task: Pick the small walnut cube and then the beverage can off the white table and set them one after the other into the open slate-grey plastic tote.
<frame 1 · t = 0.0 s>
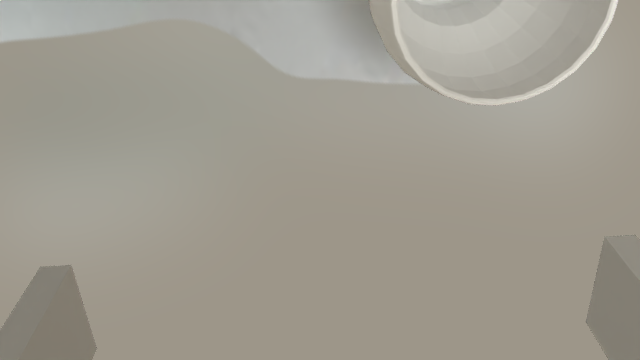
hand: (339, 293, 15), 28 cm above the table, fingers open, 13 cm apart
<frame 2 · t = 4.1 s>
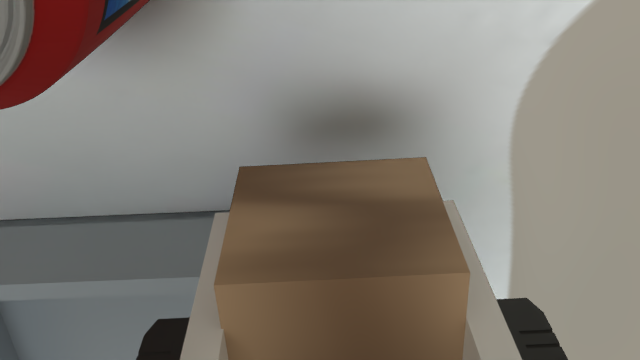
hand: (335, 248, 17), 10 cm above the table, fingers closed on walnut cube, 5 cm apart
walnut cube: (335, 239, 17), point 10 cm above the table, touching gripper
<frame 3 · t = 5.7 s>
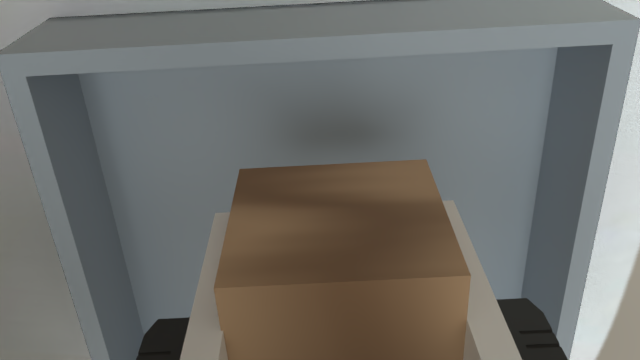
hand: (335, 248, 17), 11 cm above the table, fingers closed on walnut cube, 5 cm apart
walnut cube: (336, 241, 17), point 11 cm above the table, touching gripper
tote: (325, 208, 29), on the table
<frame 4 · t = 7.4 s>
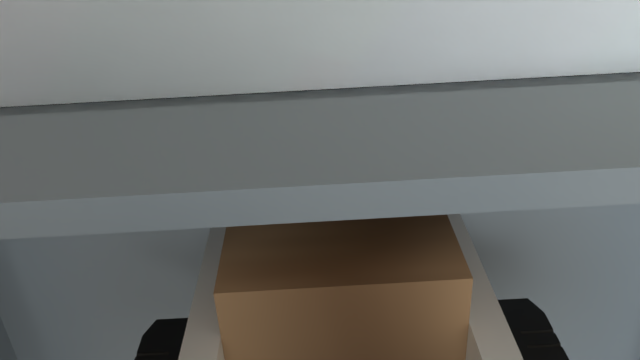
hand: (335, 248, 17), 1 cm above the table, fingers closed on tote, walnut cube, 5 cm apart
walnut cube: (334, 243, 17), point 1 cm above the table, touching gripper, tote
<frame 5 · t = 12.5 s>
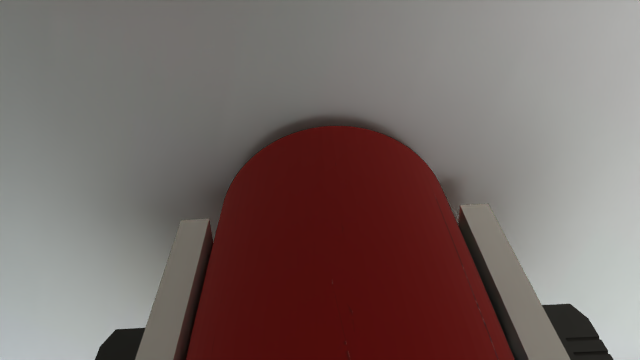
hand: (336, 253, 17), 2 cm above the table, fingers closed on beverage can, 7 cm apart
beverage can: (332, 211, 19), on the table, touching gripper
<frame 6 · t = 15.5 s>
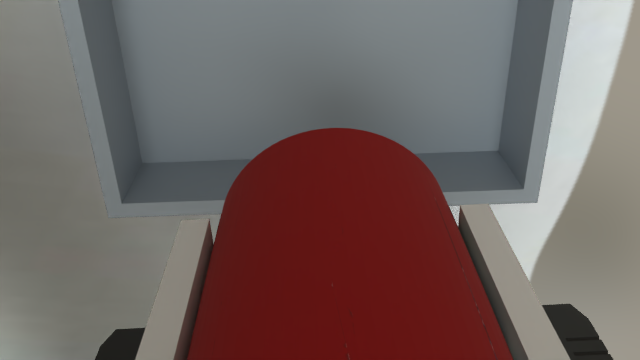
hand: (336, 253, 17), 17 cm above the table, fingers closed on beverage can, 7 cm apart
beverage can: (333, 212, 19), point 15 cm above the table, touching gripper
when the fingers open (4 cm above the table, at t = 18.4 s): beverage can drops 2 cm, resting on tote.
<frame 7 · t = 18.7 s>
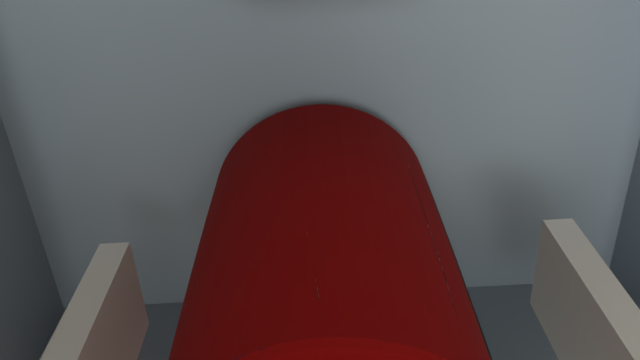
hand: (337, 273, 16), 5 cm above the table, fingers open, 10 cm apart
tote: (324, 49, 18), on the table
beverage can: (320, 185, 20), resting on tote
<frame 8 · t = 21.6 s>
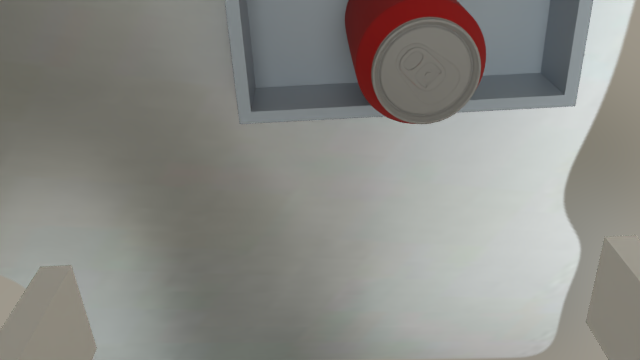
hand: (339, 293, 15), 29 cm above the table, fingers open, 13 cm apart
beverage can: (393, 15, 40), resting on tote
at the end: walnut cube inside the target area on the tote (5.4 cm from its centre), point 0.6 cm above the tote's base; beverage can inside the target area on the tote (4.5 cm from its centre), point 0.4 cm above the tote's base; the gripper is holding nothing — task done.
